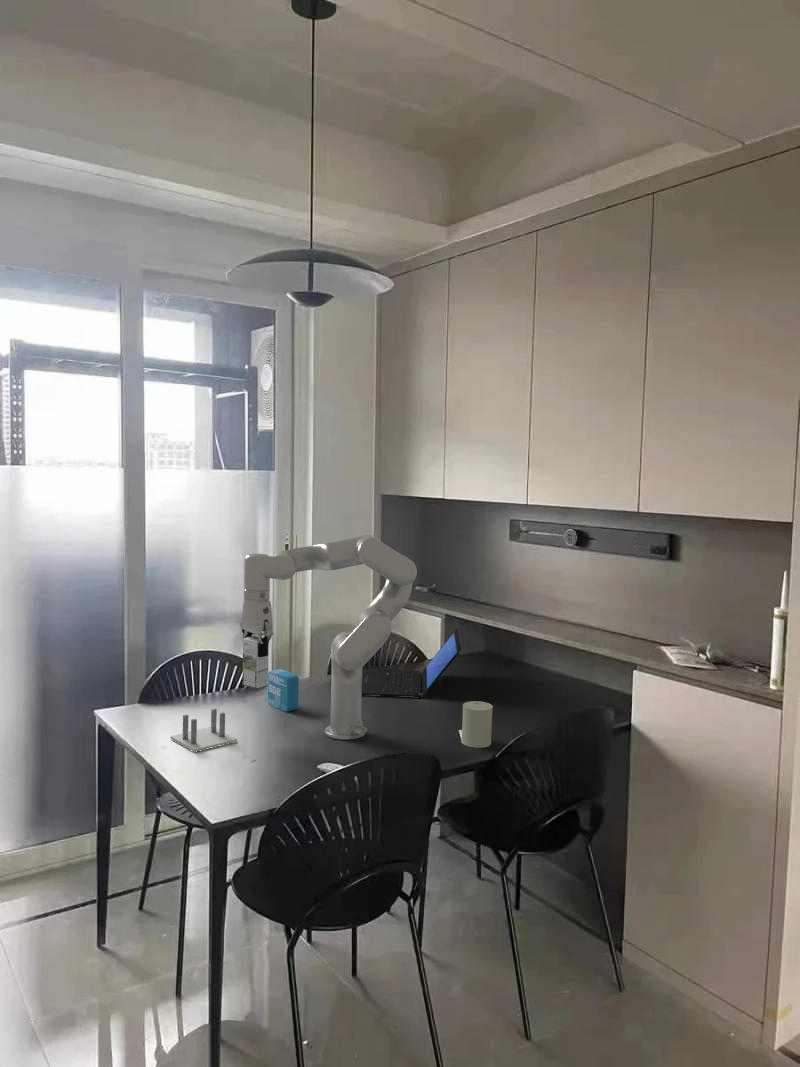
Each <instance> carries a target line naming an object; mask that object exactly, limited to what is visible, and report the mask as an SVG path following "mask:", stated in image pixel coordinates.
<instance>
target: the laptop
mask: <svg viewBox="0 0 800 1067" xmlns="http://www.w3.org/2000/svg"><path fill="white" fill-rule="evenodd" d="M458 632H459V631H458V629H455V630H454V632H453V633H452V634H451V635H450V636H449V638H448V639H447V640H446V641H445V643H444V644H443V645H442V647H440V649H438V651H437V653H436V654H435V655H434V656H433V657H432V659H431V660H430V661H429V662H428V663H427V664H426V666H425V667H424V669H423V670H422V671H421V670H403V669H402V670H400V669H376V668H362V695H380V696H413V697H421V696H423V697H424V696H425V695H426V694H427V693H428V692H429V691H430V689H431V688H432V687H433V686H434V684H435V683H436V681H438V680H439V678H440V677H441V676H442V675H443V673H444V672H445V671H446V670H447V669H448V668H449V666H450V665H451V664H452V663H453V661H454V660H455V659H456V658H457V656H458V655H459V654H460V652H461V650H462V648H461V647H462V646H461V642H460V637H459V633H458ZM421 673H422V675H421ZM380 696H379V697H380ZM421 698H422V697H421Z"/></svg>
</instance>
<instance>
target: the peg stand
mask: <svg viewBox="0 0 800 1067" xmlns="http://www.w3.org/2000/svg"><path fill="white" fill-rule="evenodd" d="M210 710H211V711H210V727H209V726H208V727H205V728H201V729H198V728H197V727H198V725H197V724H198V719H197V718H191V719H190V731H189V714H182V733H178V734H175V735H174V734H173V735H170V740H171V739H172V740H174V741H176V742H177V744H178V743H179V744H178V745H180V744H181V745H183V746H184V747H183V746H182V747H183V748H185V747H186V748H185V749H187V748H188V749H190V750H192V751H194V752H196V751H200V750H204V749H207V748H210V747H215V746H218V745H223V744H228V743H232V744H234V743H233V742H236V743H238V738H236V737H234V736H233V735H230V734H228V733H226V712H220V713H219V724H218V725H219V729H218V728H217V721H218V720H217V718H218V717H217V715H218V714H217V712H218V710H217V708H211V709H210ZM172 740H171V741H172ZM174 741H173V742H174ZM176 742H175V743H176ZM181 745H180V746H181ZM228 745H229V744H228ZM188 749H187V750H188ZM190 750H189V751H190ZM192 751H191V752H192ZM204 751H205V750H204ZM194 752H193V753H194ZM200 752H201V751H200ZM196 753H197V752H196Z"/></svg>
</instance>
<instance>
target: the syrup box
mask: <svg viewBox="0 0 800 1067" xmlns="http://www.w3.org/2000/svg"><path fill="white" fill-rule="evenodd" d="M263 638H264V636H262V639H263ZM258 644H260V642H259V638H258V635H253V636H250V637H247V638H242V686H245V687H249V688H253V689H260V688H263V687H265V686H268V673H269V654H270V653H269V651H270V650H269V646H270V642H269V643H268V656H264V657H258Z"/></svg>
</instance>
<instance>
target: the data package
mask: <svg viewBox="0 0 800 1067" xmlns="http://www.w3.org/2000/svg"><path fill="white" fill-rule="evenodd" d="M299 683H300V679H299V676H298V675H297V674H295V673H293V672H291V671H290V672H289V671H287V670H284V669H281V668H278V669H273V670H270V671H269V670H268V685H267V704H268V705H269V706H271V707H273V708H275V707H276V708H275V709H277V708H278V710H280V711H282V710H283V711H282V712H284V711H285V712H284V713H288V712H291V711H296V710H298V708H299V689H300V687H299V685H300V684H299Z"/></svg>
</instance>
